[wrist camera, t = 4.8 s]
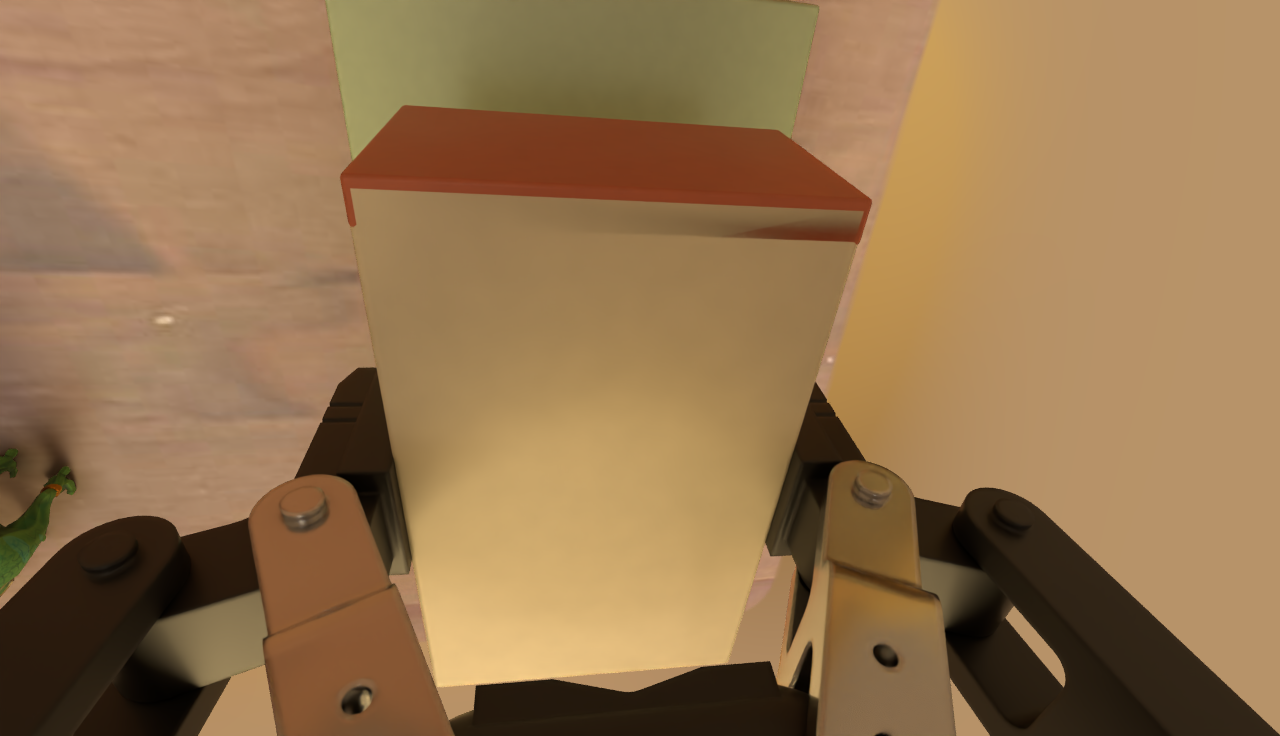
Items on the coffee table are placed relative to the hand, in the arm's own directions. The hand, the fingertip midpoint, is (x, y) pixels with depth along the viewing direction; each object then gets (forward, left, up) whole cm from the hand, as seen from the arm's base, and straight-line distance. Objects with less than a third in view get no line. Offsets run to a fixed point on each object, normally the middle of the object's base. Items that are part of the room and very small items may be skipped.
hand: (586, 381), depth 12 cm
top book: (0, 0, 0) cm, 0 cm away
